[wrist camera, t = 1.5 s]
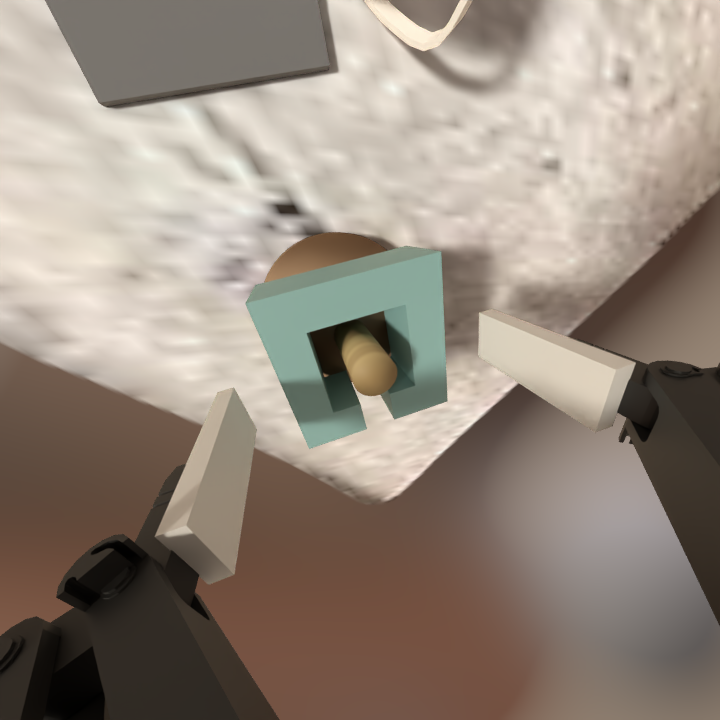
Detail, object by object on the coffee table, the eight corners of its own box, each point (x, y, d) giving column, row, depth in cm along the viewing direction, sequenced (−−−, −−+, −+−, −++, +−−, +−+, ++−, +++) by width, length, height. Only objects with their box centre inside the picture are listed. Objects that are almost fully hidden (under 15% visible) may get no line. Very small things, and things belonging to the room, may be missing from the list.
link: (255, 285, 14) (245, 303, 11) (406, 245, 15) (441, 251, 12) (305, 407, 19) (309, 448, 15) (419, 370, 20) (447, 401, 16)
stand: (232, 254, 18) (175, 284, 9) (395, 215, 19) (494, 204, 10) (290, 392, 24) (293, 495, 14) (411, 354, 25) (483, 426, 16)
